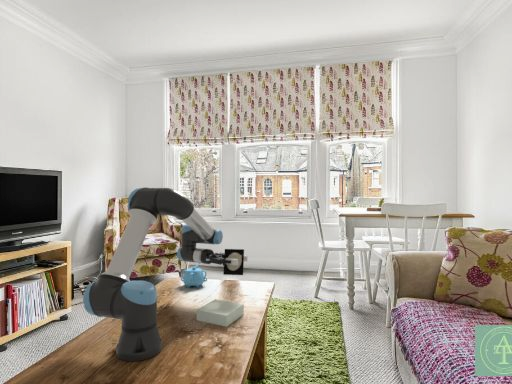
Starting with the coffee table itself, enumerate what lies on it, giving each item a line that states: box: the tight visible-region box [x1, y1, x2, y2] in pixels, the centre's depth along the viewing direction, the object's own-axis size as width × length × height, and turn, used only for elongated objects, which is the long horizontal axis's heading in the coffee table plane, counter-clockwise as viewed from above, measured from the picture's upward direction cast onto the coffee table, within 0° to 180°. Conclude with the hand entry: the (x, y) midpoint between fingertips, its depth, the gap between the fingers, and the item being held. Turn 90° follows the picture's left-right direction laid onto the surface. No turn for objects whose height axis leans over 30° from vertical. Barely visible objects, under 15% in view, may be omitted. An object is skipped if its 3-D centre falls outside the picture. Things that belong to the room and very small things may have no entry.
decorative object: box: [222, 248, 245, 276], centre depth 164 cm, size 12×10×10 cm
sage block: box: [196, 298, 245, 327], centre depth 146 cm, size 15×15×5 cm
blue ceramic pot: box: [180, 263, 208, 288], centre depth 194 cm, size 13×14×11 cm
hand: (242, 260), depth 161 cm, fingers closed on decorative object, 9 cm apart
